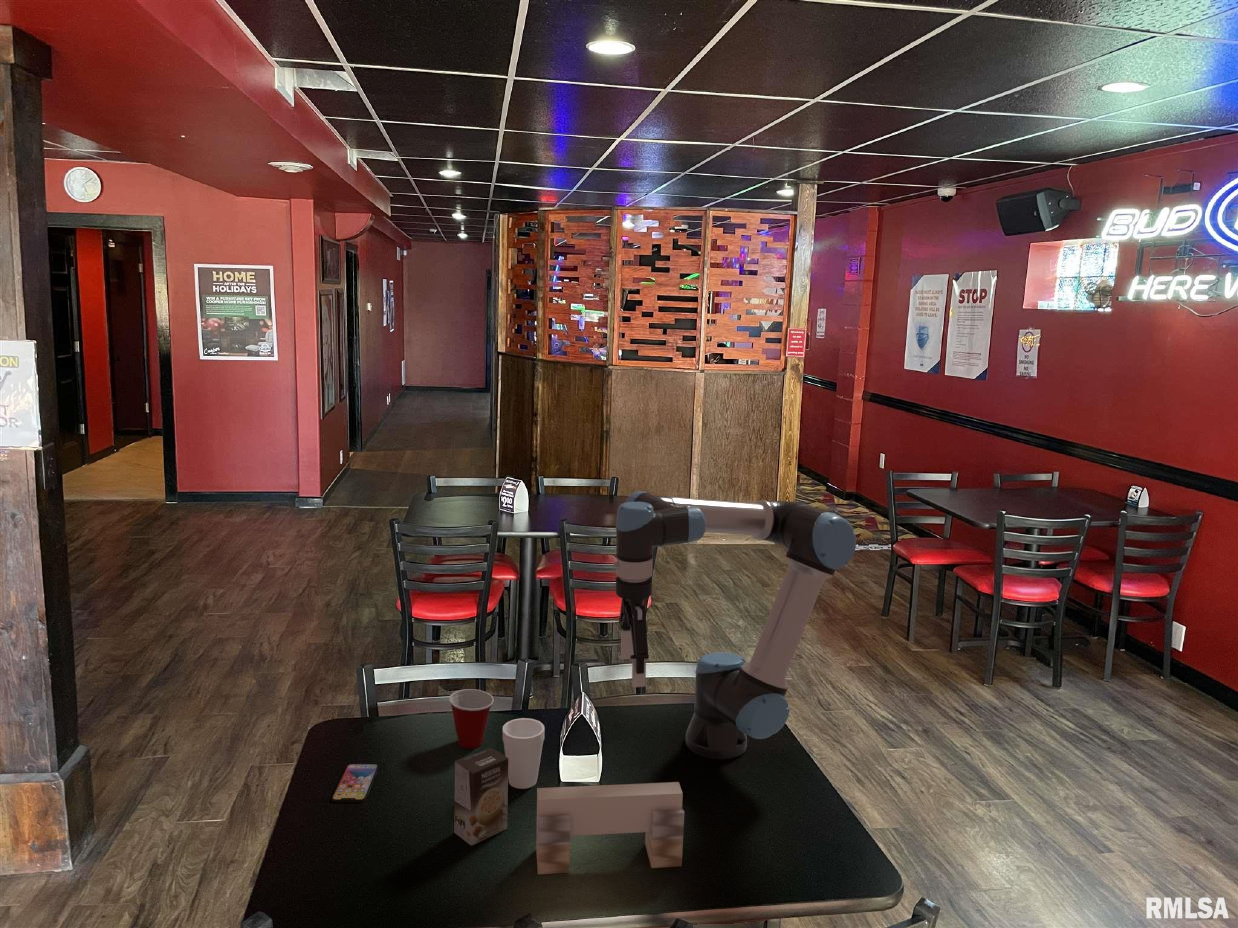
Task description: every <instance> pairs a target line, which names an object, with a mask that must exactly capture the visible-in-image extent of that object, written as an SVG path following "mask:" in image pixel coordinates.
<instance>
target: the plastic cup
mask: <svg viewBox="0 0 1238 928" xmlns="http://www.w3.org/2000/svg"><path fill="white" fill-rule="evenodd" d="M448 700H449V704H450V706H451V711H452V715H453V716H452V717H453V721H454V727H455V731H456V737H457V742H458V744H459V745H458V746H460V747H461V748H463V749H469V750H470V749H476V748H479V747H481V745H482V744H483V741H484V736H485V731H486V729H487V723H488V719H489V712H490V710H491V707H492V706H493V704H494V701H495V699H494V696H493V695H492V694H490V693H489V692H487V691H484V690H481V689H474V688H469V689H468V688H467V689H465V688H464V689H460V690H456V691H454V692H452V693H451V694H450V695H449V697H448Z"/></svg>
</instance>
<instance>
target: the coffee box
mask: <svg viewBox="0 0 1238 928" xmlns="http://www.w3.org/2000/svg"><path fill="white" fill-rule="evenodd" d="M508 759H509V758H507V757H506V756H505V754H503V753H502V752H499V751H498V750H495V749H493V748H492V747H488V748H486V749H483V750H480V751H477V752H475V753H473V754H470V755H468V756H464V757H462V758H460V759H456V760H454V822H453V823H454V827H453V829H454V830H453V832H454V834H455V835H457V836H458V837H459V838H461V839H462V840H463V841H464V842H466V843H467V844H468V845H470V846H474V845H476V844H478V843H481V842H482V841H485V840H487V839H488V838H489V839H490V837H493V836H495V835H497V834H499V833H502V832H503V831H505V830H507V829H508V802H509V800H508V799H509V798H508V797H509V796H508V792H509V791H508V790H509V779H508Z"/></svg>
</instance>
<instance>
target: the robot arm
mask: <svg viewBox="0 0 1238 928" xmlns="http://www.w3.org/2000/svg"><path fill="white" fill-rule="evenodd" d="M616 511H617V512H616V519H615V521H616V522H615V531H616V532H615V533H616V536H615V537H616V540H615V542H616V544H615V545H616V546H615V547H616V550H615V551H616V557H615V558H616V561H614V562H613V567H614V568H615V571H616V572H615V574H616V578H615V594H616V595H617V597H618V598H621V602H620V603H621V604H620V610H619V611H620V613H619V618H618V621H619V624H620V629H621V631H620V660H631V663H632V665H631V687H632V688H643V687H644V688H645V687H646V683H647V682H646V680H647V679H646V677H647V672H646V671H647V659H649V657H650V655H649V647H648V633H647V630H648V629H647V610H646V608H645V604H643V600H645V599H648V598H650V597H651V596H652V592H653V578H652V576H653V560H654V557H653V553H654V551H653V550H654V548H658V547H665V546H671V545H679V544H689V543H693V542H697V541H699V540H701V539H702V538H703V537H704V536H705V533H713V534H729V535H740V536H741V535H742V536H743V535H745V536H752V538H754V539H755V540H756V541H767V542H769V543H773V544H776V545H779V546H782V547H783V548H785V549H787V551H786V554H785V556H784V558H785V560H786V563H787V569H786V572H785V574H784V577H783V579H782V582H781V584H780V587H779V590H778V592H777V593H776V597H775V599H774V601H773V603H772V606H771V608H770V610H769V611H770V612H769V614H768V616H767V619H766V621H765V624H764V625H763V629H762V631H761V633H760V637H759V639H758V641H757V643H756V646H755V649H754V650H753V651H754V652H753V653H752V656H751V659H750V661H748V662H746V661H745V658H744V657H743V656H742V655H739V654H736V653H733V652H720V651H719V652H711V653H707V654H706V653H705V654H704V655H702V656H700V657H699V659H697V663H696V670H695V687H694V688H695V692H694V709H693V713H692V714H693V715H692V717H691V718H690V722H689V724H688V727H687V729H686V732H685V745H686V747H687V748H688V749H689V750H690V751H691V752H693V753H694V754H695V755H697V756H700V757H703V758H706V759H711V760H731V759H734V758H738V757H739V756H742V755H744V753H745V752H746V750H747V748H748V737H750V738H753V739H756V740H757V739H758V740H762V739H763V740H764V739H767V738H770V737H771V736H772V735H775V734H776V733H778V732H779V731H780V730H781V729H782V728H784V725H786V723H787V721H788V719H789V715H790V707H789V702H788V701H787V699H786V697H785V696H786V694H787V692H788V689H789V683H788V682H787V680H786V675H787V674H788V670H789V668H790V665H791V664H792V661H793V659H794V656H795V653H796V651H797V648H798V646H799V643H800V640H801V639H802V636H803V635H804V634H803V633H804V632H805V628H806V626H807V624H808V622H809V618H810V616H811V614H812V611H813V609H814V606H815V603H816V601H817V599H818V596H819V594H820V591H821V589H822V587H823V585H824V582H825V581H826V580H828V579H831V578H833V577H834V575H835V572H836V570H838V569H842V568H844V567H846V565H847V564H849V563H850V562H851V560H852V559H853V557H854V556H855V555H854V554H855V552H856V549H857V548H856V547H857V537H856V533H855V531H854V530H855V529H854V527H853V525H852V524H851V523H850V522H849V521H848V520H847V519H846V518H844V517H842V516H840V515H838V514H836V513H834V512H830V511H828V510H824V509H821V508H819V507H815V506H813V505H810V504H808V503H805V502H801V501H790V500H786V501H785V500H768V499H767V500H766V499H765V500H764V499H760V500H756V501H755V502H753V503H752V502H751V503H750V502H741V501H740V502H737V501H726V500H715V499H703V498H693V497H692V498H691V497H690V498H689V497H678V496H665V495H656V494H655V495H654V494H652V493H650V492H647V491H642V490H638V491H635V492H633V493H631V494H629V495H628V497H627V498H626V500H625V502H623V503H621V504H620V505H618V507H617V510H616Z"/></svg>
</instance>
